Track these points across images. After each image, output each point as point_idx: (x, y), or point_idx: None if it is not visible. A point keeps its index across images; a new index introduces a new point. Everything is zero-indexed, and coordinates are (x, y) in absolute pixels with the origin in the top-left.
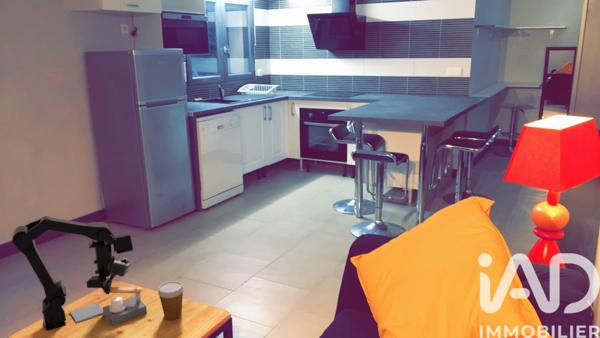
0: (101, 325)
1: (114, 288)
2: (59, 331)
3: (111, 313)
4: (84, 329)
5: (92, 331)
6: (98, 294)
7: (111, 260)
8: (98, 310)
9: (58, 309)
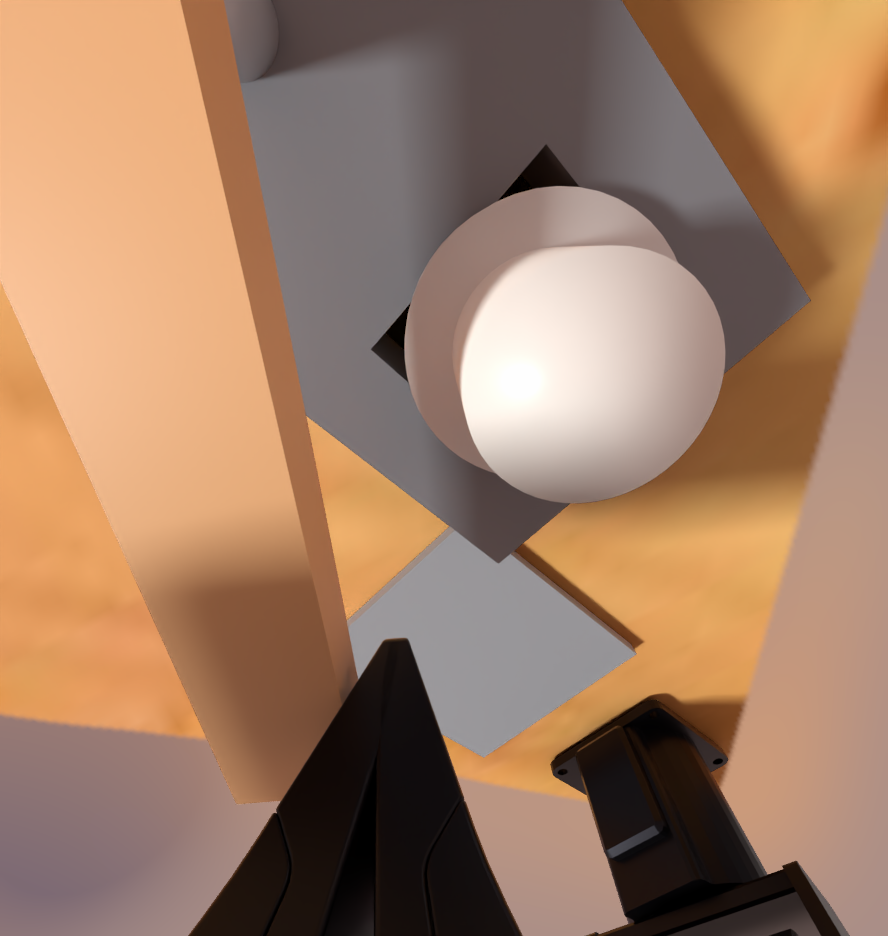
0: None
1: (252, 649)
2: (737, 687)
3: None
4: (745, 541)
5: (799, 455)
6: (159, 714)
7: None
8: (439, 586)
9: (830, 916)
